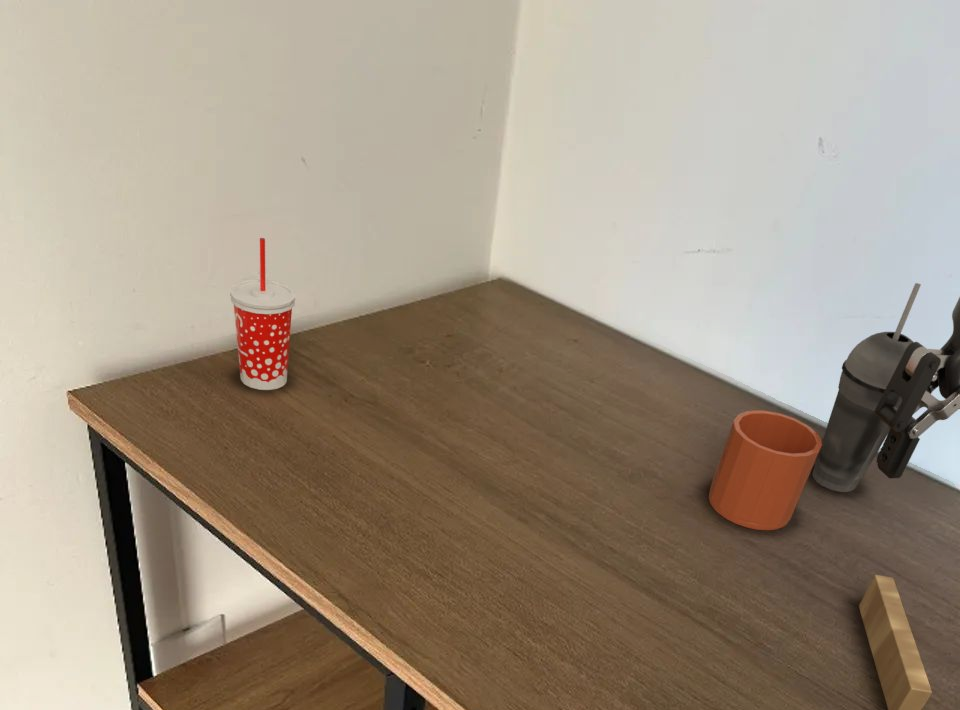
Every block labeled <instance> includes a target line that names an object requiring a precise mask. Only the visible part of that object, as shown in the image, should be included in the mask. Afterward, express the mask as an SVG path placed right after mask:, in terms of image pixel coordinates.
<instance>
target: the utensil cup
mask: <svg viewBox="0 0 960 710" xmlns="http://www.w3.org/2000/svg"><path fill="white" fill-rule="evenodd" d="M821 447H822V440H821V437H820V435H819V434H818V433H817V432H816V431H815V430H814V429H813V428H812V427H811V426H810V425H807V423H804V422H803V421H801V420H799V419H797V418H795V417H791V416H789V415H786V414H783V413H779V412H774V411H769V410H747V411H744V412H741V413H739V414H737V415H736V417H735V419H734V420H733V422H732V424H731V427H730V430H729V433H728V436H727V439H726V442H725V445H724V447H723V450H722V453H721V456H720V459H719V461H718V464H717V467H716V470H715V473H714V476H713V478H712V482H711V485H710V487H709V491H708V501H709V502H708V503H709V504H710V506H711V507H712V509H713V510H714V511H715V512H716V513H718V515H720V516H721V517H722V518H724V519H725V520H727V521H729V522H731V523H732V524H735V525H738V526H741V527H743V528H747V529H751V530H758V531H775V530H778V529H779V530H780V529H781V528H784V527H785V526H787V525H788V524H789V523H790V521H791V519H792V516H793V515H794V512H795V510H796V507H797V505H798V504H799V500H800V499H801V496H802V493H803V491H804V488H805V486H806V484H807V482H808V480H809V477H810V475H811V473H812V470H813V469H814V468H813V467H815V464H816V459H817V456H818V454H819V451H820V449H821Z"/></svg>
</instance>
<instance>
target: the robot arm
mask: <svg viewBox="0 0 960 710" xmlns="http://www.w3.org/2000/svg"><path fill="white" fill-rule="evenodd" d="M951 320H952V326H953V328H952V333H951V335H950V337H949V339H948V340H947V341H946V342H945V344H943V346H942V347H941V348H939V349H935V348H927V347H926V346H924V345H923V344H921V343H920V342H919V341H913V343H911V344H910V345H909V346H908V347H907V348H906V350H905V352H904V354H903V356H902V358H901V360H900V362H899V364H898V366H897V368H896V370H895V372H894V374H893V376H892V377H891V379H890V381H889V383H888V385H887V387H886V389H885V391H884V393H883V395H882V397H881V399H880V401H879V403H878V405H877V407H876V409H875V414H876V415H877V416H878V417H879V418H880V419H881V420H882V421H884V422H885V423H886V424H887V425H888V426H889V427H891V428H890V431H889V433H888V435H887V436H886V438H885V440H884V442H883V443H882V445H881V447H880V450H879V451H878V453H877V455H876V463H877V469H878V470H880V472H882V473H883V474H884V475H885V476H886V477H887V479H891V480H892V479H900V478H901V477H902V476H903V474H904V472H905V470H906V468H907V466H908V464H909V462H910V460H911V458H912V456H913V454H914V452H915V450H916V449H917V446H918V444H919V442H920V441H921V438H919V437H920V436H922V434H924V433H925V432H926V431H927V430H928V429H930V428H931V427H932V426H933V425H934V424H935V423H936V422H938V421H946V420H948V419H949V418H951V416H953V415H954V414H955V413H956V412H957V411H959V410H960V296H959V297H958V299H957V301H956V303H955V305H954V308H953V310H952V312H951ZM936 389H938V391H939V394H940V395H941V397H942V398H943V400H940V399H938V398H936V397H935V396H934V395H932V394H933V392H934V391H935V390H936ZM900 396H901V397H902V402H901V404H900V406H899V408H896V407H895V405H896V403H897V401H898V399H899V397H900ZM922 408H926V410H925V411H924V412H923V413H921V414H920V415H919V416H918V417H917V418H915V417H913V416H914V414H916V413H917V412H918V411H919V410H920V409H922Z"/></svg>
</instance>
